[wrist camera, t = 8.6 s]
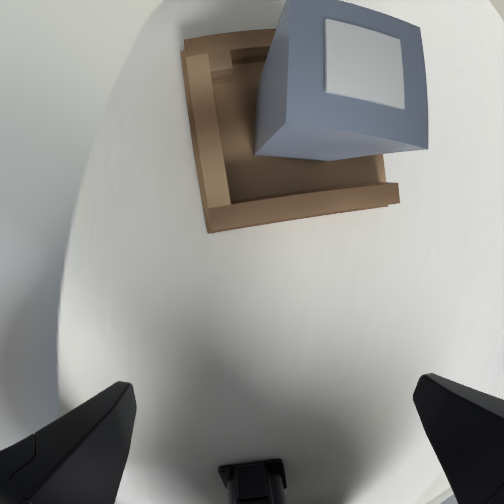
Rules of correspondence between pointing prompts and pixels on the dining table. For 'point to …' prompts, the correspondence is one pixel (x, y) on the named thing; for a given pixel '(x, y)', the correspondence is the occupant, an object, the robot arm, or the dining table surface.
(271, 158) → the pocket
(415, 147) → the grey tall block
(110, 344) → the dining table surface
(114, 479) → the robot arm
